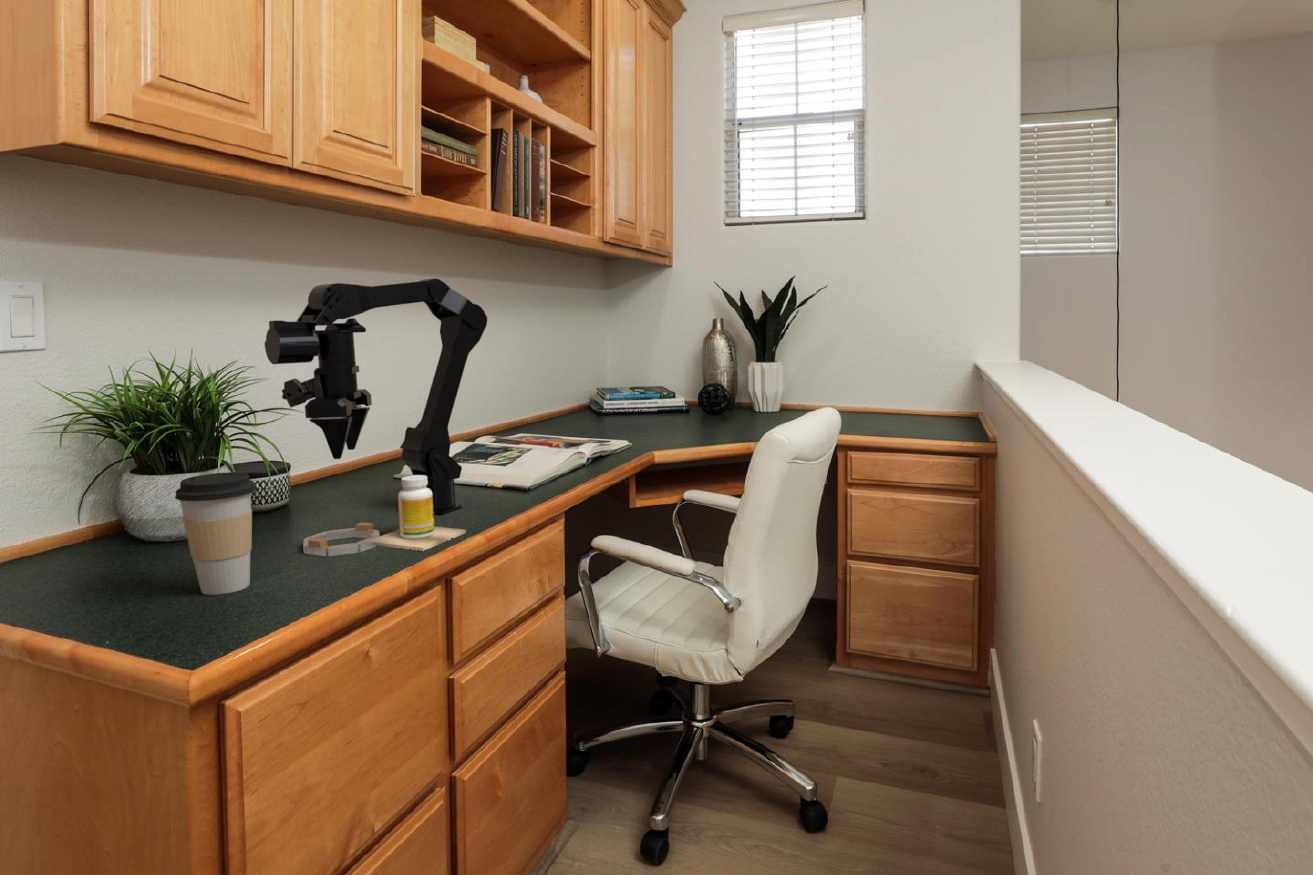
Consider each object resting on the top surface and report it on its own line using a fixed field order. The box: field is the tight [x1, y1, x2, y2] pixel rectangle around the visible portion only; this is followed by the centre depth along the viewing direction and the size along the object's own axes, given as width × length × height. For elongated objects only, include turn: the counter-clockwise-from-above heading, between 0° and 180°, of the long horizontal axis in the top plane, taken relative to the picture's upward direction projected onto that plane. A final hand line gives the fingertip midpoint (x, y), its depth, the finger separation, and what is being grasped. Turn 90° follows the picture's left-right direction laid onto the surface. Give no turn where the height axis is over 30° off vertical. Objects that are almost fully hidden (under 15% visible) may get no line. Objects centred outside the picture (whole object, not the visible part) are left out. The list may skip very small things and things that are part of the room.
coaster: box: [376, 526, 467, 552], centre depth 128 cm, size 11×11×1 cm
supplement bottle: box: [397, 474, 435, 539], centre depth 128 cm, size 5×5×10 cm
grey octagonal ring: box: [302, 521, 381, 557], centre depth 125 cm, size 11×11×2 cm
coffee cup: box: [174, 471, 257, 596], centre depth 105 cm, size 9×9×15 cm
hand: (344, 454), depth 133 cm, fingers open, 9 cm apart
